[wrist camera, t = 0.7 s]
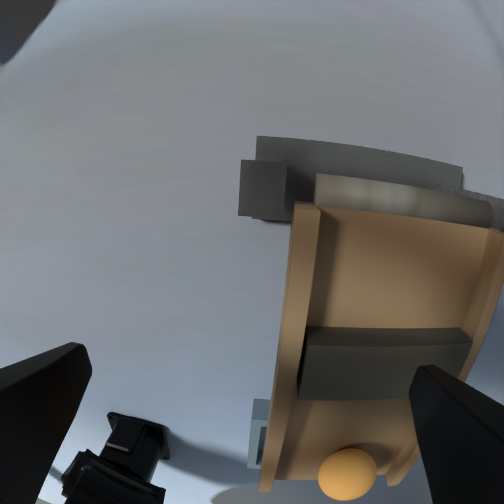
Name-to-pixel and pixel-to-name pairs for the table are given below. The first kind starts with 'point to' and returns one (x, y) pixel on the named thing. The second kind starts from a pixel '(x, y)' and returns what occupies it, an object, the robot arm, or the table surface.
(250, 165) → the hinge stand
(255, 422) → the bin
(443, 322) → the tray
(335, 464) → the ball
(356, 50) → the table surface
